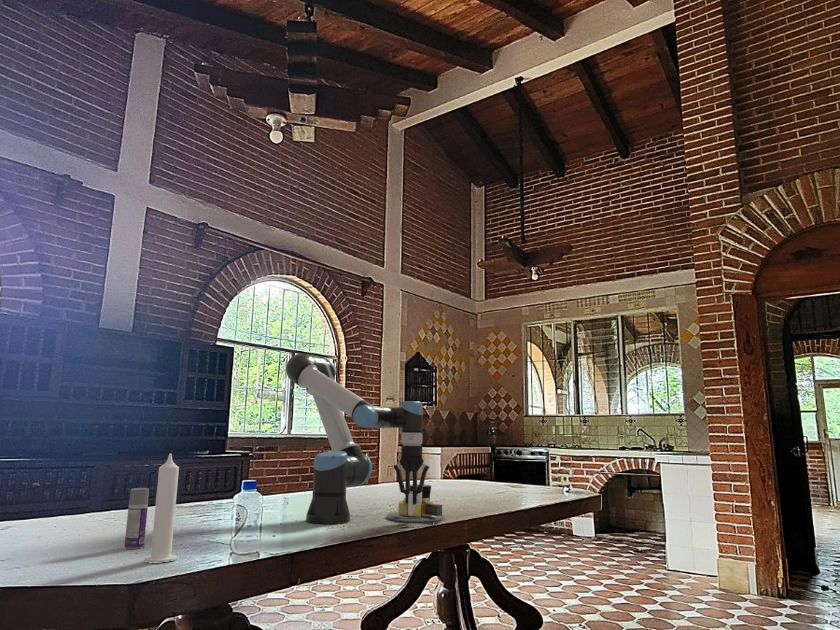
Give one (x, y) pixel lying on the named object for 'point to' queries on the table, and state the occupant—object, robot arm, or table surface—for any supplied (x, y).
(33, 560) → the table surface
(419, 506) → the toy block cluster
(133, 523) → the container
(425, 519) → the flange plate
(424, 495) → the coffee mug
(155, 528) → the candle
